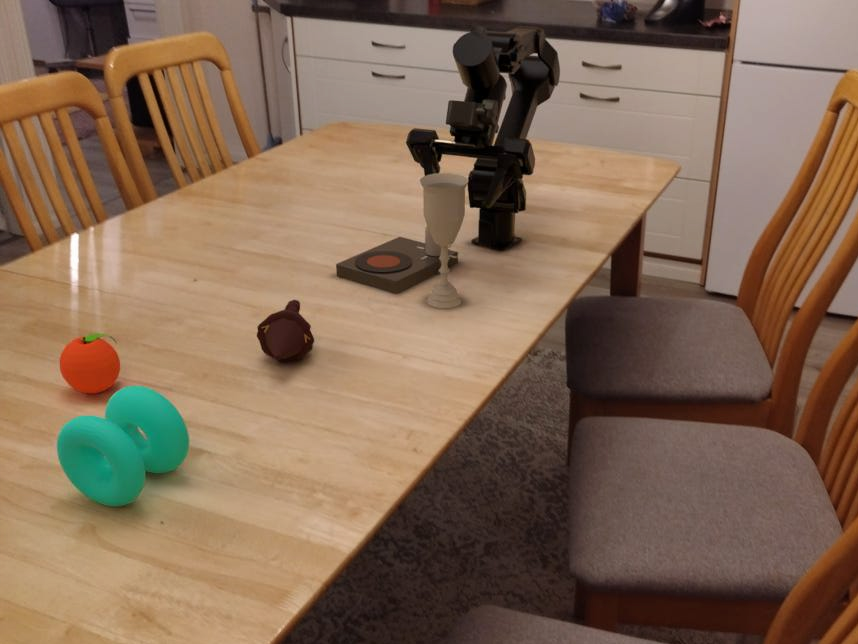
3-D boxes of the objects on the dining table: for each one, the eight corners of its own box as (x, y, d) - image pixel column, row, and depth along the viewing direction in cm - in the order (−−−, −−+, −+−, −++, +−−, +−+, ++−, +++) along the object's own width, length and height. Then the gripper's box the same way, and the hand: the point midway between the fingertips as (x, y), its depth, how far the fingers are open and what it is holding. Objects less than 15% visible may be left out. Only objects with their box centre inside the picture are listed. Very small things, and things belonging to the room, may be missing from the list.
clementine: (104, 369, 128) (93, 318, 124) (143, 382, 125) (133, 330, 122) (53, 394, 123) (40, 341, 119) (93, 408, 120) (81, 354, 116)
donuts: (61, 498, 104) (40, 414, 98) (127, 453, 111) (110, 372, 106) (139, 522, 100) (121, 436, 95) (200, 474, 108) (187, 392, 103)
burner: (379, 248, 162) (379, 247, 162) (423, 260, 158) (423, 259, 157) (342, 264, 156) (342, 263, 155) (387, 277, 151) (387, 276, 151)
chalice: (461, 313, 145) (462, 189, 136) (416, 308, 147) (413, 186, 137) (471, 294, 152) (473, 175, 142) (428, 290, 153) (426, 171, 143)
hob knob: (434, 246, 163) (434, 221, 160) (452, 251, 161) (452, 225, 159) (420, 253, 160) (420, 227, 158) (438, 258, 158) (438, 231, 156)
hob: (405, 245, 169) (404, 233, 168) (470, 263, 163) (470, 250, 161) (336, 276, 157) (335, 262, 156) (403, 296, 150) (403, 282, 149)
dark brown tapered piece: (312, 338, 122) (325, 300, 136) (252, 323, 121) (270, 287, 134) (302, 389, 126) (315, 347, 139) (243, 375, 124) (261, 334, 138)
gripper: (409, 70, 144) (382, 167, 141) (534, 80, 140) (509, 181, 137) (428, 115, 155) (404, 206, 152) (544, 126, 150) (522, 220, 147)
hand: (457, 203), depth 147 cm, fingers open, 9 cm apart
